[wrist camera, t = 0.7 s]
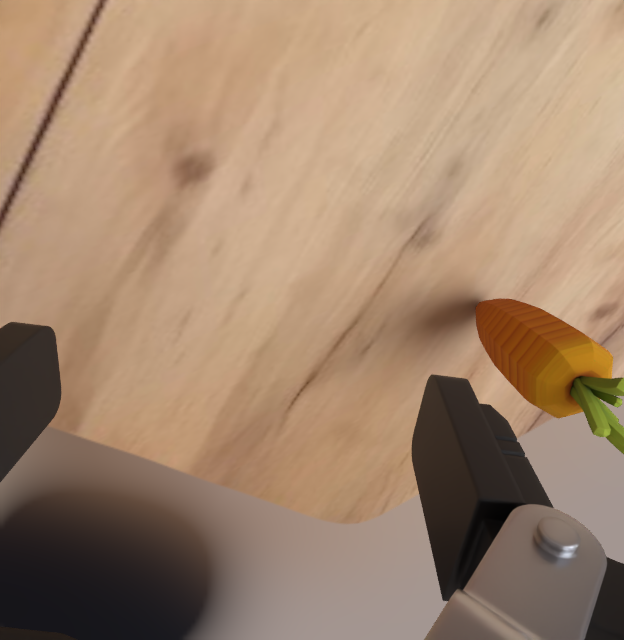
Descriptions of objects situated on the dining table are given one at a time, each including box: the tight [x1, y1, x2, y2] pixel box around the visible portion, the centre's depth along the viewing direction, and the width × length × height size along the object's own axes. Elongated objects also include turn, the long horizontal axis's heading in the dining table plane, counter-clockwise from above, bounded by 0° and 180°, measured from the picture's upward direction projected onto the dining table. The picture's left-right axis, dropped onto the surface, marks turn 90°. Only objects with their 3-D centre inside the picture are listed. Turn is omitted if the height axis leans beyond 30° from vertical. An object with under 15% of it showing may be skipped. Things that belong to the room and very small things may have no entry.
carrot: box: [476, 299, 624, 454], centre depth 29 cm, size 5×5×15 cm
